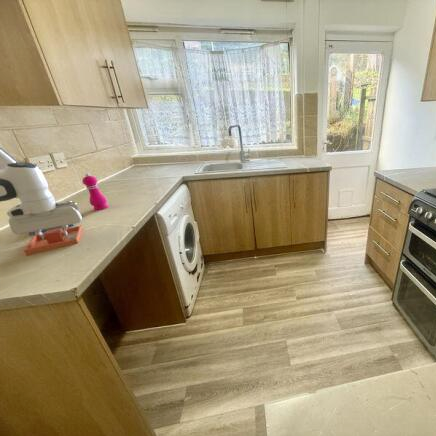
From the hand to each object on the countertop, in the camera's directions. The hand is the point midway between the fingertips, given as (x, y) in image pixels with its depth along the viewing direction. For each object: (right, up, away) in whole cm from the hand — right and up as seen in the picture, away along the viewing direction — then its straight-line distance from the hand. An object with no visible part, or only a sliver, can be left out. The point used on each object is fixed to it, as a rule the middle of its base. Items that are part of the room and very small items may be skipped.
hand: (55, 237), depth 99 cm
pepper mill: (-9, +13, +35) cm, 38 cm away
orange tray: (0, -2, +1) cm, 2 cm away
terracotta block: (0, -2, +1) cm, 2 cm away
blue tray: (-16, +5, +17) cm, 23 cm away
